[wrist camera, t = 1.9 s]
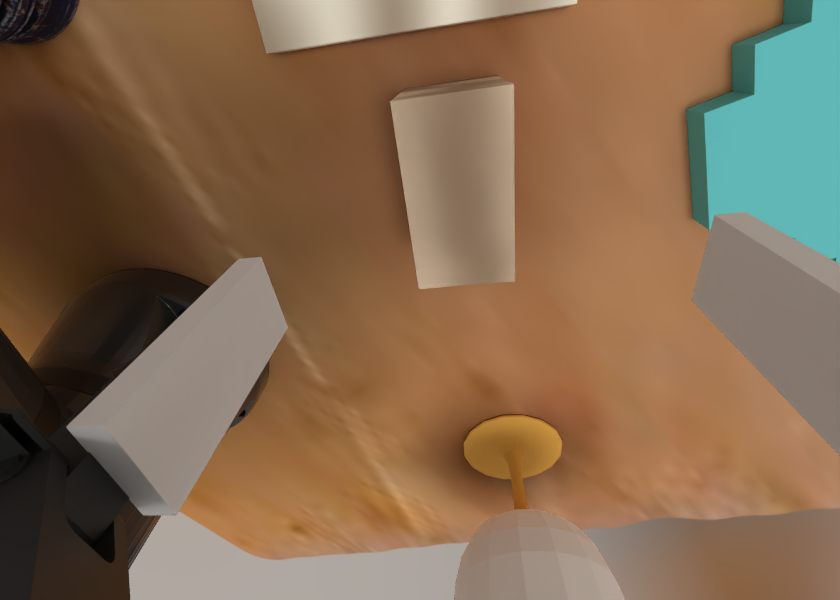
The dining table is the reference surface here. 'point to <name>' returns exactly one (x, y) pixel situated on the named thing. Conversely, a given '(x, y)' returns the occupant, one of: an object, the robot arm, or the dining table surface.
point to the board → (374, 18)
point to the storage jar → (34, 19)
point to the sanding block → (459, 179)
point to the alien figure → (776, 131)
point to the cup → (527, 526)
